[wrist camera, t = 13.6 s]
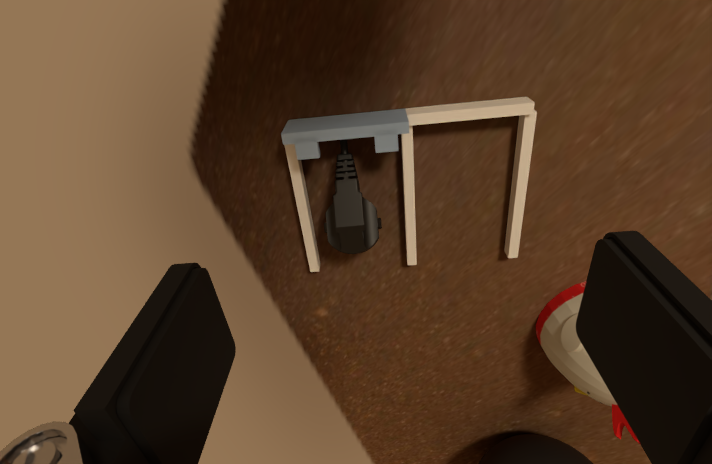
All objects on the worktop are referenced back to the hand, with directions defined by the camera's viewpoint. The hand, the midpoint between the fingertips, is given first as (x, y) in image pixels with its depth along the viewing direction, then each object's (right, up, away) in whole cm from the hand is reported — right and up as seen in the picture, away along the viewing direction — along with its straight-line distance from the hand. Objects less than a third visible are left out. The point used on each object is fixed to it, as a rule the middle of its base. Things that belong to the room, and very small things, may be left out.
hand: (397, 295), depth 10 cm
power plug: (-2, +7, +32) cm, 33 cm away
